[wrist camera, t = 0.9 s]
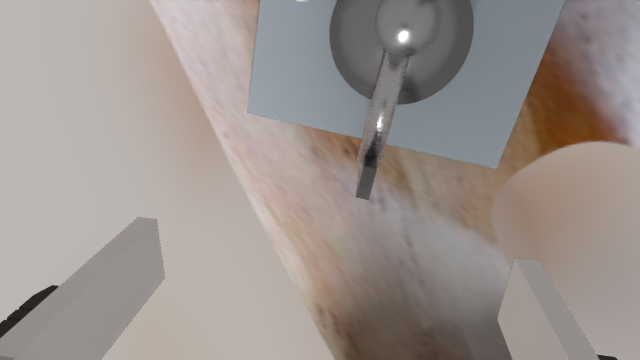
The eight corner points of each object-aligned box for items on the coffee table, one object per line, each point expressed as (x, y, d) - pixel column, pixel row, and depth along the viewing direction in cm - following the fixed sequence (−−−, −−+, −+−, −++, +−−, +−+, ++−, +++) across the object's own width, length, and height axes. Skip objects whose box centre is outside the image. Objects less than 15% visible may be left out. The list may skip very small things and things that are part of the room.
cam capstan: (363, -137, 27) (358, -183, 20) (513, -107, 26) (559, -145, 20) (309, 148, 35) (292, 182, 28) (422, 174, 35) (432, 214, 28)
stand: (491, 162, 36) (506, 183, 32) (252, 108, 37) (236, 122, 33) (599, -105, 27) (637, -124, 23) (285, -166, 28) (269, -194, 24)
